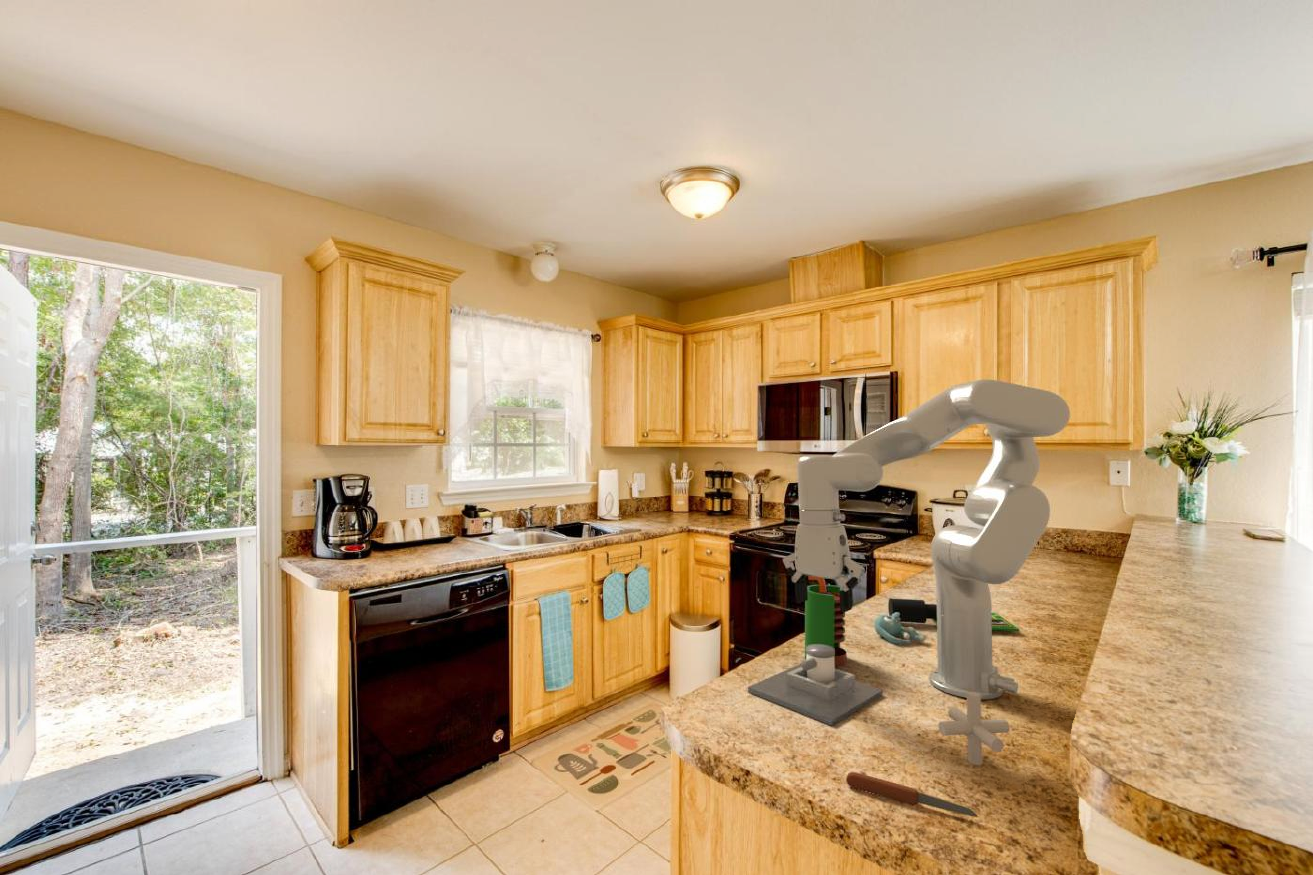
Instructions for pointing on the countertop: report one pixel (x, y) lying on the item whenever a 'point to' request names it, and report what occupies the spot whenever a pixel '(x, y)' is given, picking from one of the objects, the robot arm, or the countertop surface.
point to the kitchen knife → (902, 793)
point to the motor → (825, 619)
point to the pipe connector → (975, 728)
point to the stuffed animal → (895, 629)
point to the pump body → (820, 663)
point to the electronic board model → (933, 613)
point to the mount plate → (816, 694)
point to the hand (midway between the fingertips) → (823, 605)
